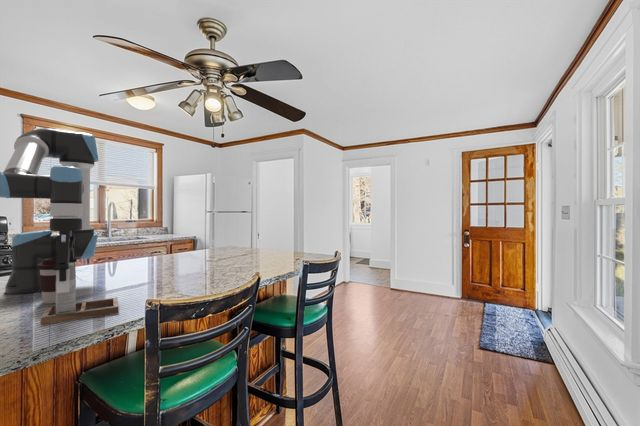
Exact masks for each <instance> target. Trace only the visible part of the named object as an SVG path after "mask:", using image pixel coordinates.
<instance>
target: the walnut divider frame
mask: <svg viewBox="0 0 640 426" xmlns="http://www.w3.org/2000/svg"><path fill="white" fill-rule="evenodd" d="M118 299H119V298H118V297H117V296H116V297H111V298H110V297H109V298H101V299H95V300H86V301H79V302H77V301H76V309H78V311H77V310H76V312H70V313H63V314H56V304H53V305H48V306H47V307H46V309H45V311H44V312H43V314H42V315H41V317H40V326H42V325H43V326H44V325H49V324H55V323H56V324H57V323H62V322H68V321H76V320H82V318H83V319H88V318H93V317H94V318H95V317H101V316H107V315H109V316H110V315H114V314H119V300H118ZM104 306H105V307H104ZM106 306H108V307H106ZM96 307H97V308H96ZM98 307H100V308H98ZM90 308H91V309H90ZM92 308H93V309H92ZM54 313H55V314H54Z"/></svg>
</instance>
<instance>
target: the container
mask: <svg viewBox="0 0 640 426" xmlns="http://www.w3.org/2000/svg"><path fill="white" fill-rule="evenodd" d="M68 269H69V292H63V293H57V270H56V303H55V305H56V313H55V315H56V314H63V313H70V312H77V310H76V303H77V297H76V296H77V293H76V292H77V285H76V284H77V277H76V273H77V271H76V264H75V265H69V268H68Z"/></svg>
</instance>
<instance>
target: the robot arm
mask: <svg viewBox="0 0 640 426" xmlns="http://www.w3.org/2000/svg"><path fill="white" fill-rule="evenodd" d="M13 148H14V151H13V153H12V156H11V157H10V159H9V161H8V163H7V164H6V167H5V168H4V170H3V172H2V171H0V198H3V199H4V198H5V199H40V200H43V199H44V200H46V199H49V203H50V204H49V205H50V206H47V210H49V216H50V217H52V218H50V219H49V229H43V230H42V229H41V230H34V231H26V232H21V233H19V232H18V233H16V234H14V235H13V237H12V238H11V239H12V240H11V241H12V242H11V273H10V275H9V277H8V280H7V282H6V284H5V287H4V289H5V290H4V293H6V294H9V295H14V294H15V295H16V294H17V295H20V294H31V293H37V292H41V288H40V277H39V275H40V270H39V269H37V265H38V264H40V263H42V262H43V260H44V259H47V258H55V257H57V261H56V267H53V270H57V293H63V292H69V269H68V268H69V265H74V262H75V263H77V261H79V260H80V261H82V260H89V259H92V258H94V256H95V253H96V248H97V242H98V237H99V232H97V231H95V227H94V226H92V225H91V223H90V222H91V220H90V219H91V217H90V216H91V215H90V214H91V209H90V208H91V207H90V206H91V169H92V168H93V167H95V163H98V162H99V154H98V146H97V139H96V137H95V136H94V134H91V133H87V132H82V131H72V130H63V129H56V128H42V127H41V128H38V129H33V130H30V131H27V132H25V133H22V134H21V135H20V136H18V137H17V138H16V140H15V141H14V144H13ZM45 158H52V159H59V164H60V165H55V166H54V165H53V166H52V167H50V174H48V175H45V174H38V173H39V170H40V168H41V164H42V162H43V160H44V159H45ZM72 262H73V263H72Z"/></svg>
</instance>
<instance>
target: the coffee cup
mask: <svg viewBox="0 0 640 426" xmlns="http://www.w3.org/2000/svg"><path fill="white" fill-rule="evenodd" d="M56 261H57V257H55V258H47V259H44V260H43V262H42V263H40V264H38V265H37V269H39V270H40V275H39V277H40V288H41V291H40V292H41V298H42V299H41V301H42V303H43V304H47V305H49V304H50V305H51V304H53V305H54V304H56V270H53V267H56ZM72 263H73V262H72ZM74 265H75V266H76V262H74Z"/></svg>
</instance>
